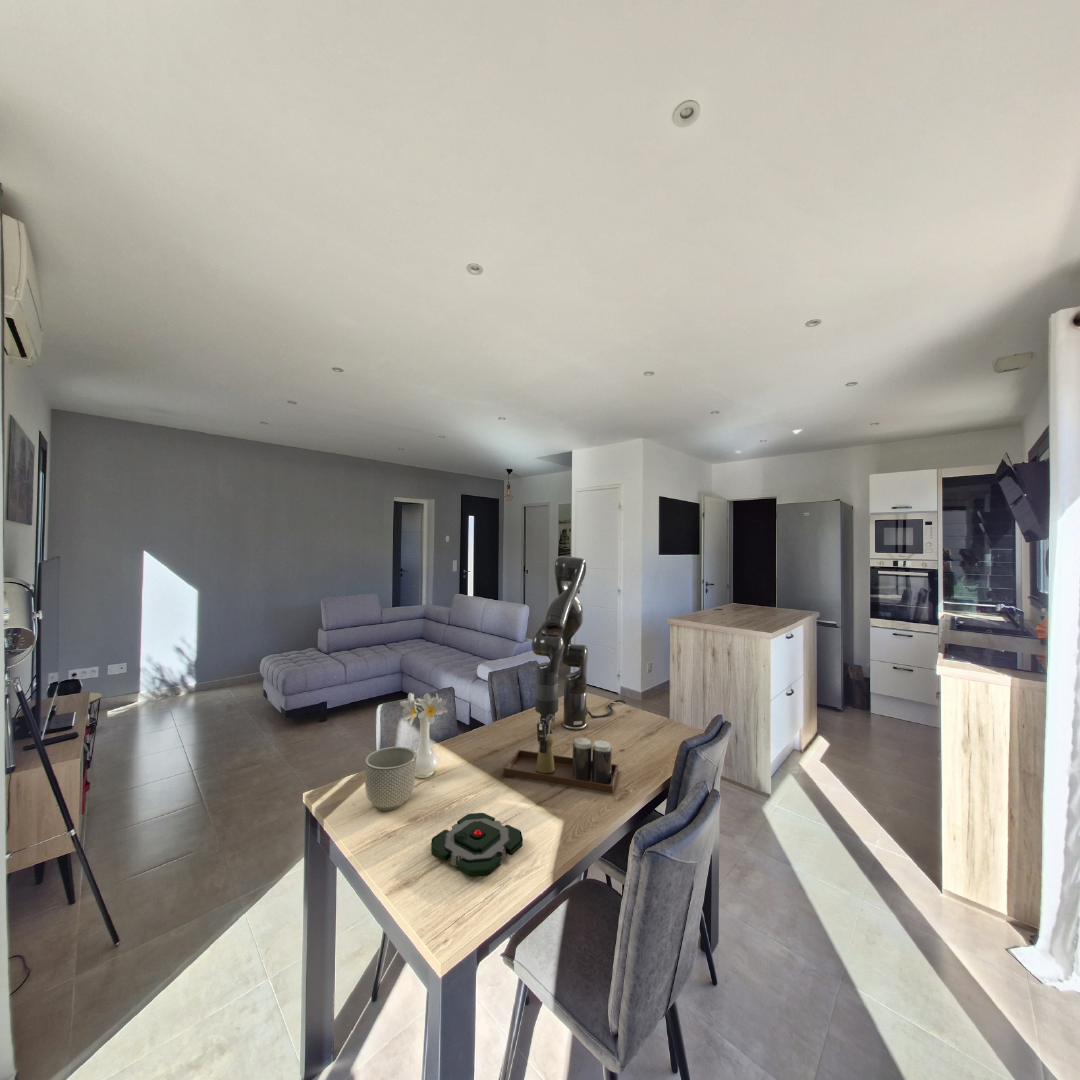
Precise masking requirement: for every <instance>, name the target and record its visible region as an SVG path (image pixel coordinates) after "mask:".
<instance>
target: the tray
mask: <svg viewBox="0 0 1080 1080" xmlns="http://www.w3.org/2000/svg"><path fill="white" fill-rule="evenodd" d="M537 758H538V752H537V751H531V750H530V751H529V750H525V749H524V750H523V749H518V750H517V751H516V752H515V754H514V755H513V756H512V757H511V759H510V760H509V761H508V763H507V764H506V765H505V766H504V767H503V777H508V778H512V779H514V778H521V779H527V780H532V781H537V782H538V781H539V782H543V783H551V784H555V785H560V786H561V785H562V786H567V787H573V788H579V789H583V790H584V789H585V790H590V791H595V792H596V791H597V792H602V793H608V794H613V793H614V789H615V785H616V781H617V776H618V773H619V765H618V764H616V763H612V766H611V782H610V783H608V784H601V783H596V782H594V781H593V780H592V761H591V778H590V779H589V780H586V781H583V780H577V779H574V778H573V777H572V761H573V757H570V756H569V757H568V756H563V755H557V754H553V759H554V771H553V772H551V773H541V772H538V771H537V770H536V765H537Z"/></svg>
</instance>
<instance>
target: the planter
mask: <svg viewBox="0 0 1080 1080" xmlns="http://www.w3.org/2000/svg"><path fill="white" fill-rule="evenodd" d="M416 763H417V755H416V751H415V750H414V749H412V748H409V747H406V746H389V747H388V746H387V747H383V748H379V749H377V750H374V751H372V752H371V753H369V754H368V755H367V756H366V757H365V759H364V765H363V767H364V784H365V794H366V798H367V800H368V802H369V803H370V804H372V805H373V806H374V807H376V808H377V809H378V810H380V811H383V812H388V811H389V812H390V811H394V810H397V809H398V808H400V807H401V806H402V805H403V803H404V802H406V801H407V800H408V799H409V798H410V796H411V795H412V793H413V790H414V787H415V781H416V777H415V774H416Z"/></svg>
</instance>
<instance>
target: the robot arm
mask: <svg viewBox="0 0 1080 1080" xmlns="http://www.w3.org/2000/svg"><path fill="white" fill-rule="evenodd" d="M586 572H587V562H586V560H585V559H584V558H582V557H578V556H577V557H576V556H568V555H559V556H558V557H556V559H555V562H554V579H555V583H556V584H555V585H556V590H557V597H555V598H554V600H553V601H552V602H551V603H550V605H549V607H548V609H547V613H546V616H545V619H544V621H543V622H542V624H541V626H540V627H539V629H538V630H537V631H536V633H535V634H534V636H533V638H532V641H531V650H532V653H534V654H535V656H540V657H548V658H549V657H550V660H549V661H548V662H541V663H539V664H538V665H537V667H536V684H535V696H534V697H535V698H534V699H535V700H534V703H535V704H534V707H535V708H534V710H535V712H536V713H538V714H540V717H539V719H538V722H537V724H536V734H537V735H536V736H537V737H536V738H537V742H538V741H540V752H541V753H546V752H547V740H548V734H549V733H550V734H552V735H553V734H554V731H555V721H556V720H555V719H556V713H558V711H559V692H560V691H559V669H560V665H561V664H562V665H563V666H564V667H569V668H570V667H571V668H578V670H576V671H573V672H571V673H568V674H566V675H565V676H564V679H563V681H564V682H563V717H562V719H563V722H562V726H563V728H565V729H568V730H574V731H580V730H584V729H586V728H587V716H590V717H591V718H593V719H597V718H605V717H609V716H611V715H612V714H613V713H614V709H613V708H612V707H611V706H612V705H614V704H615V703H612V702H616V703H623V704H627V702H626V701H625V700H623V699H616V700H614V701H611V702H609V703H608V705H607V708H608V709H609V710H610V712H608V713H605V714H602V715H593V713H591V711H589V710H588V709H589V707H587V685H588V684H587V681H588V680H587V678H588V677H587V675H588V673H587V671H588V658H589V649H588V646H587V645H586V644H582V643H581V644H580V643H571V641H572V638H573V637H574V636H575V634H577V632H578V631H579V630H580V628H581V627H582V625H583V623H584V612H583V605H582V604H581V601H580V600H579V598H578V597H577V595H578V593H579V592H580V589H581V587H582V584H583V582H584V579H585V576H586V574H587V573H586ZM559 633H560V635H556V634H559ZM609 704H610V705H609ZM542 735H543V737H542Z"/></svg>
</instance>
